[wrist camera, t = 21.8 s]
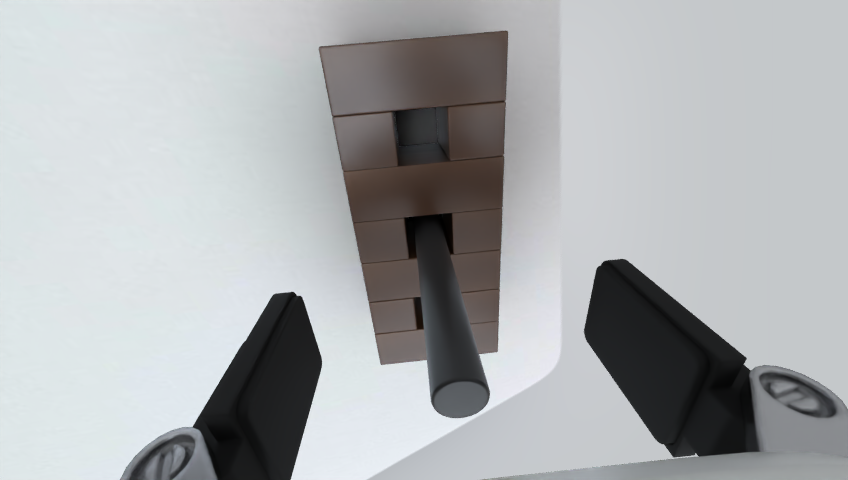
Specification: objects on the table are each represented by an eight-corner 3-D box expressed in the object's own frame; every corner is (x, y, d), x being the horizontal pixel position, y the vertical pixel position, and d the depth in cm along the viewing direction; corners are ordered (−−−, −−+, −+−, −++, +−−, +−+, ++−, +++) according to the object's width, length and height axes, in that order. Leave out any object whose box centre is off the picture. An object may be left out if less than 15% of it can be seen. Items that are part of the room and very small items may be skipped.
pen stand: (340, 56, 16) (317, 46, 12) (479, 44, 17) (508, 29, 12) (384, 312, 24) (380, 365, 20) (479, 302, 24) (497, 352, 20)
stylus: (411, 195, 20) (429, 383, 8) (434, 193, 20) (491, 376, 8) (413, 217, 21) (433, 422, 8) (436, 215, 21) (490, 415, 8)
